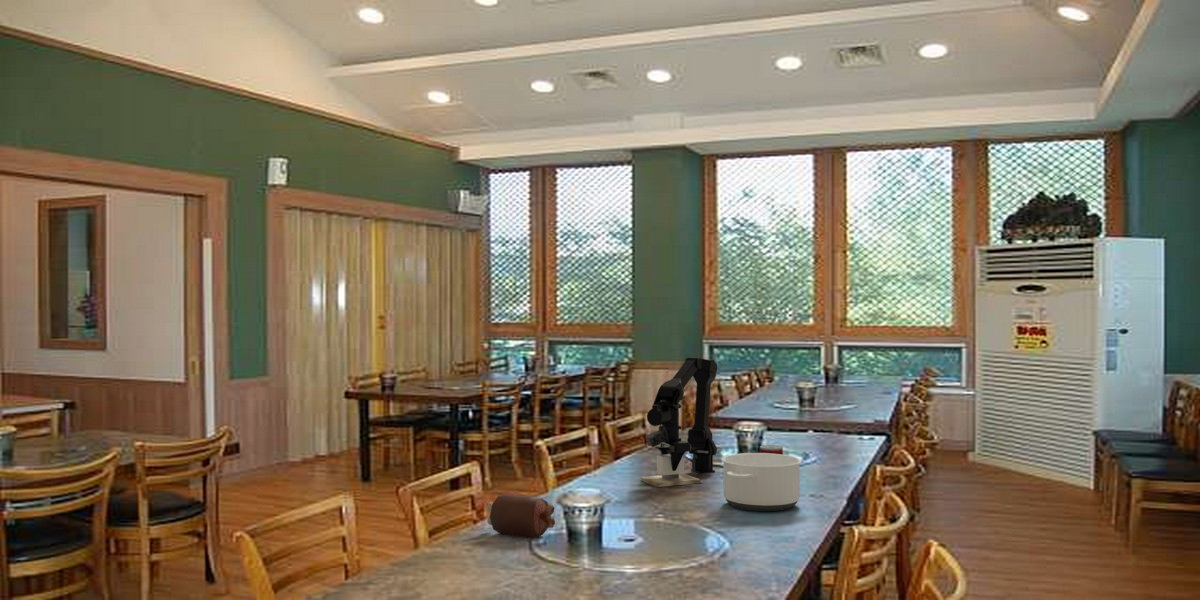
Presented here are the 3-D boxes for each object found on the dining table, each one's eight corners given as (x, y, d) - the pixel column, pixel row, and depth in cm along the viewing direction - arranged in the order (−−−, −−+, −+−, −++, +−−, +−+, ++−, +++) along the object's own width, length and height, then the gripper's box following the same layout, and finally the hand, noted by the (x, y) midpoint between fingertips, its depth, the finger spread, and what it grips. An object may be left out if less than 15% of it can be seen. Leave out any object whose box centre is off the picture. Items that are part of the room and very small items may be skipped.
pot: (772, 521, 257) (772, 471, 257) (698, 510, 271) (698, 463, 271) (821, 500, 284) (821, 455, 284) (752, 491, 298) (751, 448, 298)
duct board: (683, 476, 323) (683, 461, 323) (700, 483, 311) (700, 467, 311) (641, 480, 316) (641, 465, 316) (656, 486, 305) (656, 470, 305)
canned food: (781, 477, 321) (781, 445, 321) (784, 481, 313) (783, 448, 313) (759, 477, 322) (758, 444, 322) (760, 481, 314) (760, 448, 314)
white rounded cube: (677, 471, 318) (677, 453, 318) (683, 473, 313) (683, 455, 313) (656, 472, 315) (656, 454, 315) (663, 475, 310) (663, 457, 310)
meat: (475, 536, 243) (475, 497, 243) (500, 527, 253) (500, 489, 253) (542, 544, 234) (541, 503, 234) (565, 534, 244) (564, 494, 244)
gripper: (636, 420, 319) (636, 466, 319) (661, 427, 302) (661, 476, 302) (665, 419, 324) (666, 464, 324) (691, 425, 307) (692, 473, 307)
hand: (670, 469), depth 314 cm, fingers closed on white rounded cube, 5 cm apart
